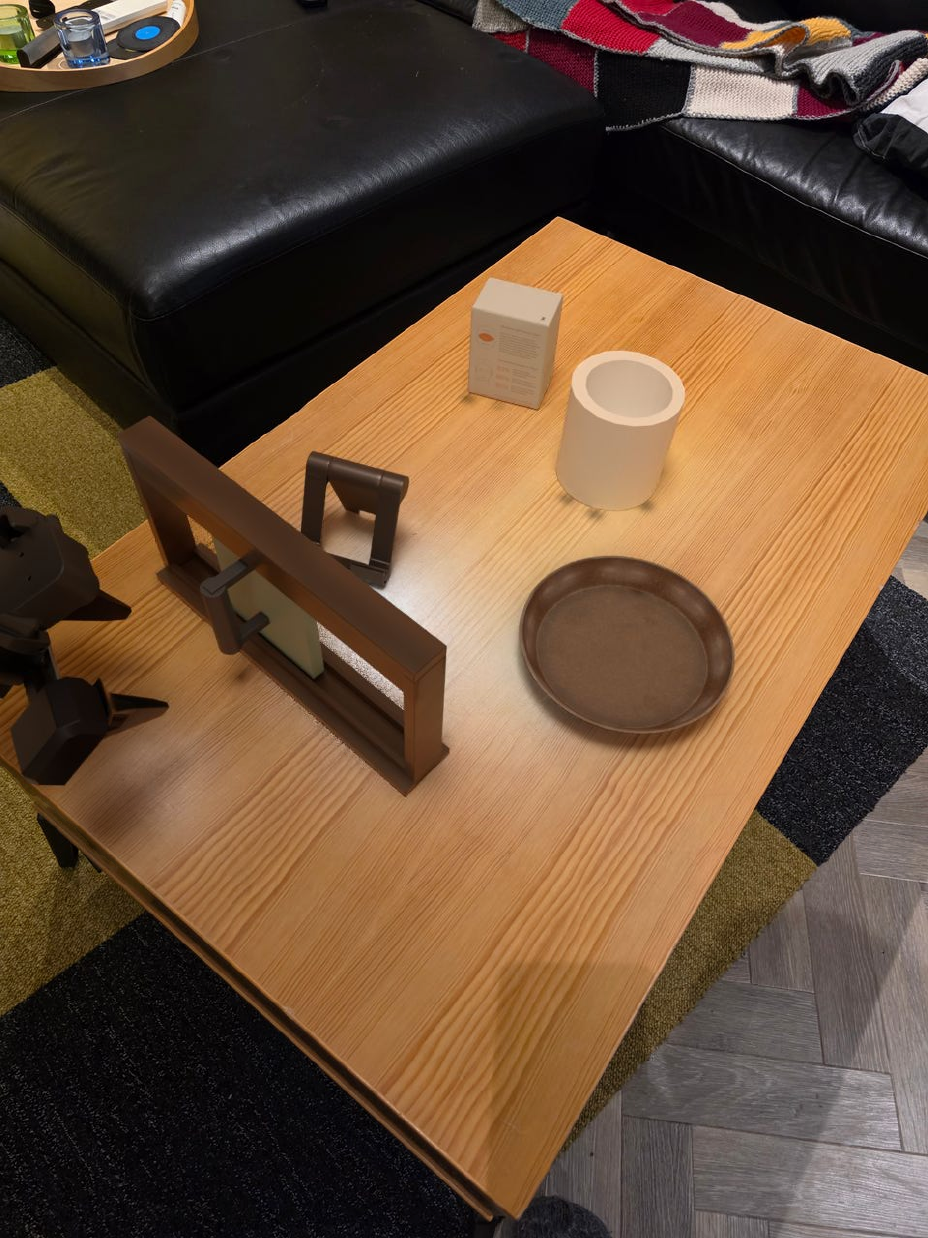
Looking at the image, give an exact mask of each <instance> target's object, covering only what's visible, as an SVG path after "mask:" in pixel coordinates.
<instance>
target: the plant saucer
mask: <svg viewBox="0 0 928 1238" xmlns="http://www.w3.org/2000/svg"><path fill="white" fill-rule="evenodd" d="M520 615H521V616H520V620H519V628H518V637H519V646H520V650H521V653H522V657H523V659H524V663H525V664H526V667H527V668H528V670H529V672H530V674H531V675H532V677H533V679H534V680H535V682H536V683H537V685H538V686H539V687H540V688H541V689H542V690H543V692H544V693H545V694H546V695H547V696H548V697H549V698H550V699H551V700H552V701H553V702H555V704H557V705H558V706H559V707H561V708H562V709H563V710H565V711H566V712H567V713H569V714H571V715H572V716H574V717H575V718H577V719H579V720H581V721H583V722H585V723H587V724H590V725H591V726H595V727H597V728H600V729H603V730H607V731H612V732H616V733H622V734H631V735H650V734H659V733H665V732H671V731H673V730H676V729H681V728H683V727H686V726H688V725H690V724H692V723H694V722H696V721H698V720H699V719H701V718H702V717H704V716H706V715H707V714H709V713H710V712H711V711H712V710H713V709H714V708H715V707H716V706H717V705H718V704H719V703H720V701H721V700H722V699H723V698H724V696H725V694H726V692H727V691H728V689H729V687H730V684H731V683H732V678H733V675H734V670H735V663H736V655H735V647H734V641H733V636H732V633H731V631H730V628H729V626H728V624H727V621H726V619H725V618H724V616H723V613H721V611H720V610H719V609H718V607H717V605H716V604H715V603H714V602H713V600H712V599H711V598H710V597H709V596H708V595H707V594H706V593H705V592H704V591H703V590H702V589H701V588H699V586H697V585H696V584H695V583H693V582H692V581H691V580H689V578H686V577H685V576H684V575H682V574H680V573H679V572H677V571H675V570H672V569H670V568H668V567H666V566H664V565H662V564H660V563H656V562H653V561H650V560H647V559H642V558H636V557H632V556H626V555H597V556H590V557H585V558H581V559H577V560H575V561H571V562H569V563H567V564H564V565H562V566H560V567H558V568H557V569H554V570H553V571H551V572H550V573H548V574H547V575H546V576H545V577H544V578H543V579H541V581H539V582H538V584H536V586H535V587H534V588H533V590H532V591H531V592H530V593H529V595H528V597H527V599H526V601H525V603H524V605H523V608H522V611H521V614H520Z"/></svg>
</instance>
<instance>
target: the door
mask: <svg viewBox="0 0 928 1238" xmlns="http://www.w3.org/2000/svg"><path fill="white" fill-rule="evenodd" d="M210 538H211V539H212V544H213V547H214V552H215V554H216V555H217V558H218V561H219V565H220V568H221V573H219V574H218V575H216V576H215V577H211V578H208V579H206V580H204V581H203V582H202V584H201V586H200V592H201V595H202V598H203V601H204V604H205V607H206V610H207V613H208V616H209V619H210V622H211V625H212V626H211V628H212V631H213V635H214V637H215V640H216V643H217V647H218V650H219V651H220V652H221V653H222V654H223V655H226V656H232V655H236V654H238V653H240V650H241V648H242V646H243V644H244V643H245V642H247V641H248V640H249V639H251V638H252V637H253V636H254V635H256V634H257V633H258V632H259V633H260V634H261V635H262V636H264V637H265V638H266V639H267V640H268V641H269V642H271V643H272V644H273V645H274V646H275V647H276V648H278V649H279V650H280V651H281V652H282V653H283V654H285V655H286V656H287V657H288V658H289V659H290V660H292V661H293V662H294V663H295V664H296V665H297V666H299V667H300V668H301V669H302V670H303V671H304V672H306V673H307V674H308V675H309V676H310V677H311V678H313V679H315V678H316V677H317V676H318V675H319V674H321V673H322V672H323V671H324V664H323V658H322V652H321V645H320V641H321V640H320V633H319V628H318V622H317V621H316V620H315V619H313V618H312V617H311V616H310V615H309V614H307V613H306V612H305V611H304V610H302V609H301V608H300V607H299V606H298V605H296V604H295V603H294V602H293V601H292V600H290V599H289V598H288V597H287V596H285V595H284V594H283V593H282V592H281V591H279V590H278V589H277V588H276V587H274V586H273V585H272V584H271V583H270V582H268V581H267V580H266V579H265V578H264V577H262V576H261V575H260V574H259V573H257V572H256V571H255V570H254V569H253V568H251V567H250V566H249V565H248V564H246V563H245V562H244V561H243V560H242V559H240V558H239V557H238V556H237V555H235V554H234V553H233V552H232V551H231V550H229V549H228V548H227V547H226V546H225V545H223V544H222V543H221V542H220V541H218V540H217V539H216V538H215V537H214V536H212V535H211V534H210ZM234 612H236V613H237V614H238V615H239V616H240V617H241V618H243V619H244V620H245V621H246V623H244V624H243V625H242V626H240V627H239V628H238V625H237V621H236V618H235V614H234Z"/></svg>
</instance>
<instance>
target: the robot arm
mask: <svg viewBox="0 0 928 1238" xmlns="http://www.w3.org/2000/svg"><path fill="white" fill-rule="evenodd" d="M89 556H90V553H89V550H88V548H87V547H86V546H85V545H84V544H83V543H81V542H79V541H78V540H76V539H75V538H73V537H71V536H70V535H68V534H67V533H65V531H64V529H63V526H62V523H61V520H60V518H59V516H58V515H57V514H55V513H53V514H52V513H51V514H46V515H45V514H43V513H42V512H40V511H38V510H36V509H33V508H28V507H22V506H17V505H16V506H15V505H9V504H5V505H4V506H2V507H0V699H2V700H4V699H5V698H6V696H7V695H8V694H9V692H10V691H11V690H12V689H13V687H15V686H17V687H20V686H22V685H23V686H24V690H25V694H26V697H27V701H28V705H27V706H26V707H25V709H24V710H23V711H22V713H21V714H20V715H19V717H17V719H16V720H15V722H14V723H13V725H12V726H11V727H10V728H9V732H10V736H11V739H12V740H11V741H12V743H13V748H14V751H15V754H16V758H17V763H18V766H19V770H20V773H21V775H22V776H23V778H24V779H25V780H26V782H27V783H28V784H31V785H36V786H61V787H62V786H63V787H64V786H66V785H67V783H68V782H69V781H70V780H71V779H72V778H73V776H74V775H75V774H76V772H78V770H79V769H80V768H81V767H82V766H83V764H84V763H85V762H86V760H87V759H88V758H89V757H90V756H91V755H92V753H93V752H94V751H95V750H96V749H97V747H99V745H100V744H101V743H102V741H104V740H106V739H108V738H110V737H114V736H115V735H119V734H121V733H122V732H125V731H128V730H130V729H132V728H135V727H138V726H141V725H143V724H145V723H148V722H150V721H152V720H153V721H154V720H155V719H157V718H160V717H162V716H163V715H165V713H166V712H167V711H168V710H169V708H170V705H169V703H168V702H167V701H164V700H160V699H157V698H153V697H152V698H151V697H144V696H138V695H131V694H123V693H115V692H110V691H109V690H108V688H107V687H106V685H105V683H104V681H103V679H101V677H97V678H96V679H95V681H93V683H92V684H91V683H90V682H89V681H87V680H86V679H85V678H83V677H76V676H68V675H67V676H63V677H62V675H61V671H60V668H59V666H58V665H59V664H58V662H57V659H56V656H55V651H54V649H53V646H52V641H51V638H50V634H49V632H48V630H50V629H51V628H54V627H55V626H56V625H57V624H58V623H60V622H115V621H125V620H127V619H128V618H129V617H130V616H131V614H132V613H133V610H132V607H131V606H130V605H128V603H127V604H126V603H125V602H123V601H122V600H119V599H118V598H117V597H115V596H113V595H111V594H110V593H108V592H107V591H104V590H102V589H101V588H100V587H101V583H100V580H99V579H100V578H99V577H98V575H97V574H96V573H95V571H94V567H93V565H92V563H91V560H90V558H89Z"/></svg>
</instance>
